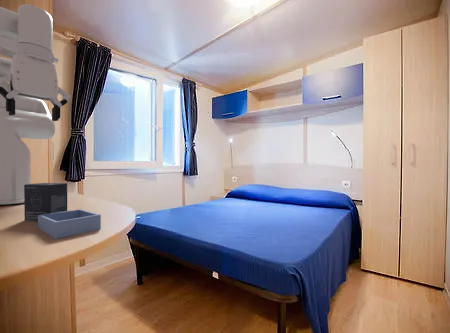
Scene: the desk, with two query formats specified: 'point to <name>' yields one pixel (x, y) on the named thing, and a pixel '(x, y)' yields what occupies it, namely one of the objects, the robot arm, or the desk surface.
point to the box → (44, 199)
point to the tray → (69, 223)
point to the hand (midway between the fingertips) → (34, 118)
